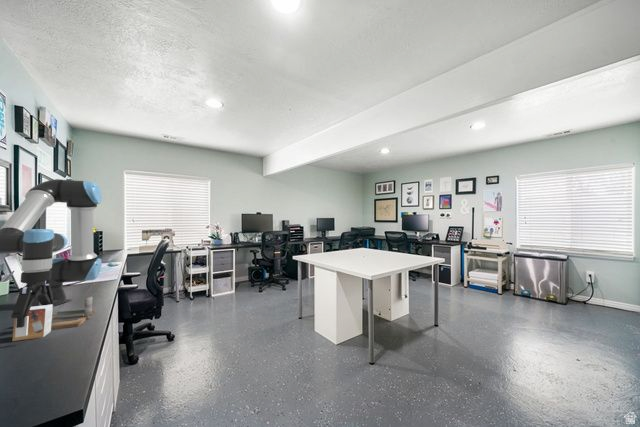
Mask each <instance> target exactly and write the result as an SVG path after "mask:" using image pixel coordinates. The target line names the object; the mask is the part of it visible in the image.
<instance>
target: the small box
mask: <svg viewBox="0 0 640 427" xmlns="http://www.w3.org/2000/svg"><path fill="white" fill-rule="evenodd" d="M53 307H54V306H53V304H51V305H43V306H33V307H31V308H30V310H29V312H28V314H27V316H29V320H28V335H27V336H22V337H15V329H16V318H13V319H14V322H13V332H12V342H17V341H23V340H24V341H25V340H32V339H40V338H44V337H46V336H47V335H48V334H50V333H51V331H52V330H51V322H52V315H53V310H54V308H53Z"/></svg>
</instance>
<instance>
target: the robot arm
mask: <svg viewBox="0 0 640 427" xmlns="http://www.w3.org/2000/svg"><path fill="white" fill-rule="evenodd" d="M101 192H102V191H101V187H100V186H99V185H98V183H97V182H93V181H87V180H72V179H71V180H69V179H58V178H57V179H50V180H46V181H44V182H40V183H38V184H36V185H35V186H33V187H31V188H30V189H29V190H28V191H27V192H26V193H25V195H24V200H23V202H21V203H20V205H19V206H18V207H17V209H16V210H14V212H13V213H12V214H11V216H10V217H9V218H8V219H7V220H6V221H5V222H4V224H3V225H2V226H1V227H0V255H2V254H20V253H21V254H22V257H21V259H22V260H21V262H20V265H21V271H22V272H21V273H20V283H22V284H26V286H25V287H20V288H19V291H18V295H17V300H16V301H15V305H14V308H13V310H12V313H11V319H15V318H16V329H15V337H22V336H27V335H28V320H29V316H27V314H28V312H29V310H30V308H31V307H33V306H39V302H40V304H41V305H42V306H43V305H51V304H53V307H56V306H59V304H60V305H62V303H63V304H65V303H67V298H68V297H67V295H66V294H67V293H66V292H65V290H64V287H63V286H64V285H63V284H64V283H75V282H88V281H93V280H96V279H97V278H98V277H99V275H100V272H101V268H102V264H103V262H102V261H103V260H102V259H101V258H98V255H97V254H96V253H95V252H94V210H95V209H97V207H98V205H99V204H101V202H102V193H101ZM55 203H64V204H66V208H68V210H70V230H71V232H70V234H71V239H70V240H71V241H70V242H71V255H69V256H68V257H67V259H65V257H56V258H55V257H53V253H55V252H58V251H61V250H62V249H64V248H65V247H66V246H67V244H68V240H67V238H66V236H65V235H64V234H61V233H56V232H55V231H54V229H49V228H39V229H38V228H35V229H34V228H33V227H34V226H35V225H36V223H37V222H38V220H39V219H40V218H41V217H42V215H43V214H44V212H45V211H46V210H47V208H48V207H51V206H52V205H53V204H55ZM64 302H65V303H64ZM55 305H56V306H55Z"/></svg>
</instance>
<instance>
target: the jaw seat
mask: <svg viewBox="0 0 640 427" xmlns="http://www.w3.org/2000/svg"><path fill="white" fill-rule="evenodd" d="M93 299H94V298H93V296H86V297H85V298H84V308H80V309H71V310H70V309H69V310H61V311H60V310H59V311H57V312H56V313H54V314H52V322H51V331H52V330H62V329H66V328H67V329H69V328H77V327H79V326H81V325H82V324H83V323H84V322H86V321H87V320H88V319H89V318H90V317H92V316H93V315H94V314H95V313H96V309H93ZM39 306H42V305H41V304H40V302H39Z"/></svg>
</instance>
